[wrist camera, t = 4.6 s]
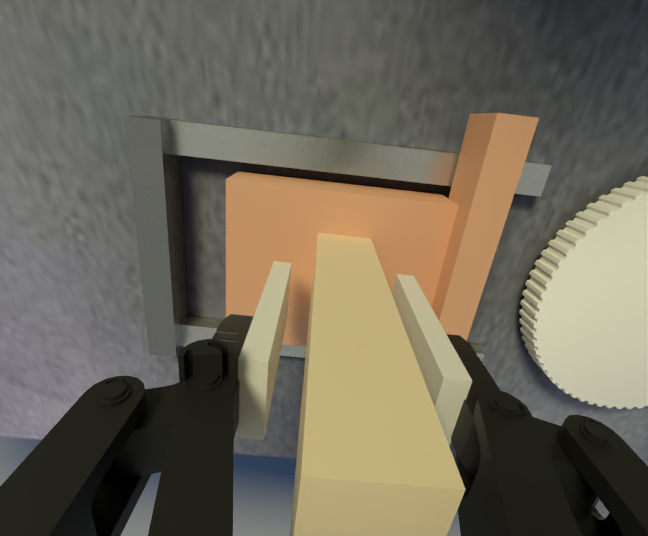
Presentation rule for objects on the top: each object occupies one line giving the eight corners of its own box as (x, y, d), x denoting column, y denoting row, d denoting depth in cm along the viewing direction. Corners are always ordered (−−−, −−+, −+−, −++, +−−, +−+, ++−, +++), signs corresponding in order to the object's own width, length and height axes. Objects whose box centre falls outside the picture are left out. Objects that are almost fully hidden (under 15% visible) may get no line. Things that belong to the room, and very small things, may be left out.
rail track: (164, 334, 22) (149, 354, 20) (146, 116, 17) (124, 115, 15) (471, 363, 22) (484, 385, 21) (540, 162, 18) (565, 168, 16)
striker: (235, 366, 22) (103, 731, 9) (239, 86, 16) (-175, -69, 3) (420, 383, 23) (553, 754, 9) (495, 117, 16) (1193, 115, 3)
